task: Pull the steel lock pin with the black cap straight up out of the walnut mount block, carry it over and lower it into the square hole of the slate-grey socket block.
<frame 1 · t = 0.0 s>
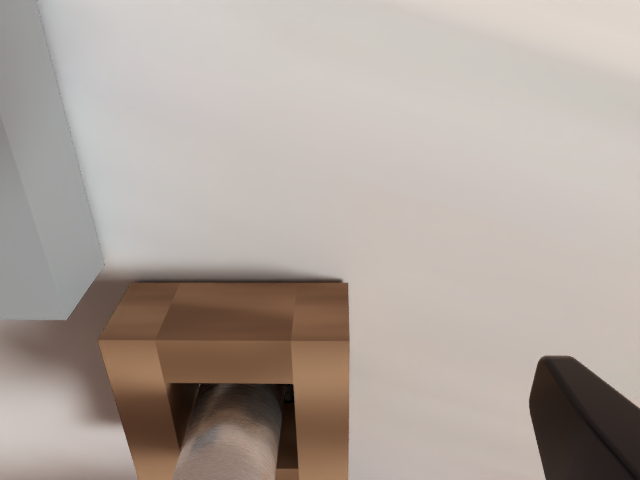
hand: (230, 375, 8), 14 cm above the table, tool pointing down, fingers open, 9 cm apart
lock pin: (229, 456, 23), in the pin mount
pin mount: (248, 364, 27), on the table
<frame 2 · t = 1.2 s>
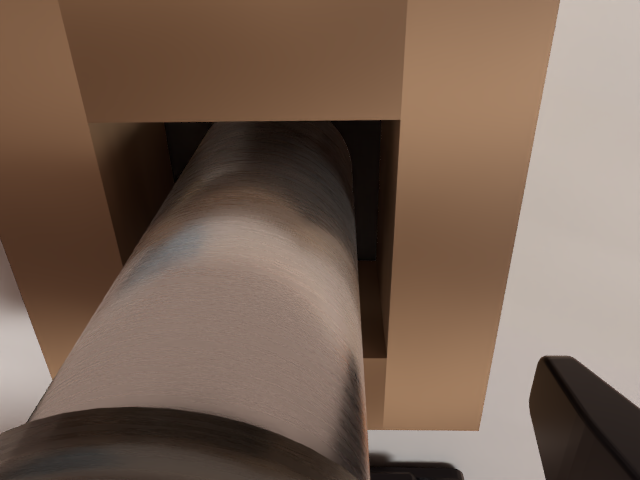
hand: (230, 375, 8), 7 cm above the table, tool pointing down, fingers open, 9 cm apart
lock pin: (244, 299, 9), in the pin mount
pin mount: (275, 173, 14), on the table
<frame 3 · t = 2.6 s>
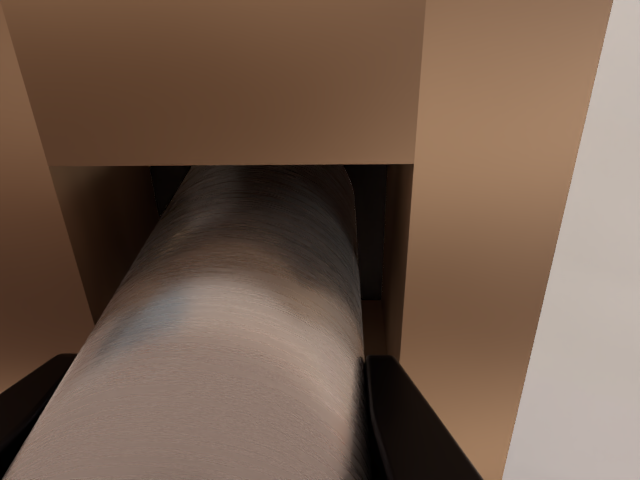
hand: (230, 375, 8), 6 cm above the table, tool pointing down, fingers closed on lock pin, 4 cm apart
lock pin: (229, 373, 8), in the pin mount, touching gripper
pin mount: (270, 207, 13), on the table
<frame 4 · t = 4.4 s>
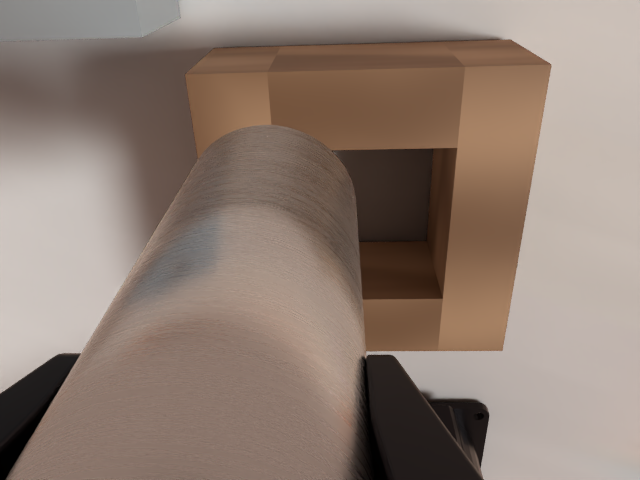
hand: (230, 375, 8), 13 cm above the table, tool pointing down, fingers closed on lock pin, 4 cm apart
lock pin: (231, 374, 8), point 13 cm above the table, touching gripper
pin mount: (360, 180, 21), on the table
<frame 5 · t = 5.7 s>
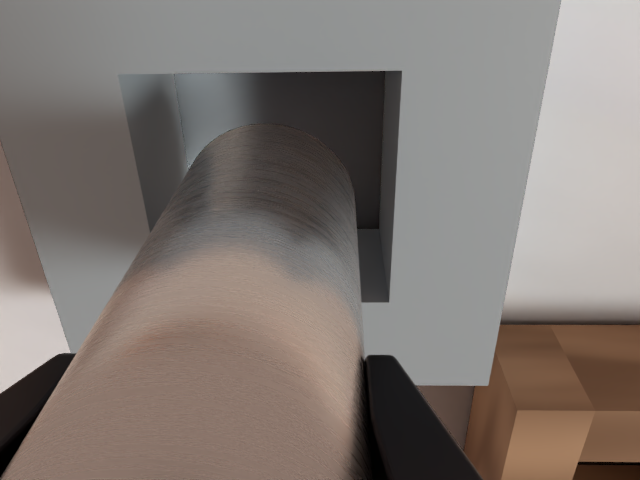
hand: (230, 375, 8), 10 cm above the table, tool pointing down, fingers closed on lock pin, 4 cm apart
socket block: (282, 142, 16), on the table
lock pin: (229, 374, 8), point 10 cm above the table, touching gripper
pin mount: (593, 421, 22), on the table
when the fingers open (6 cm above the table, at t = 6.7 s): lock pin drops 1 cm, resting in socket block.
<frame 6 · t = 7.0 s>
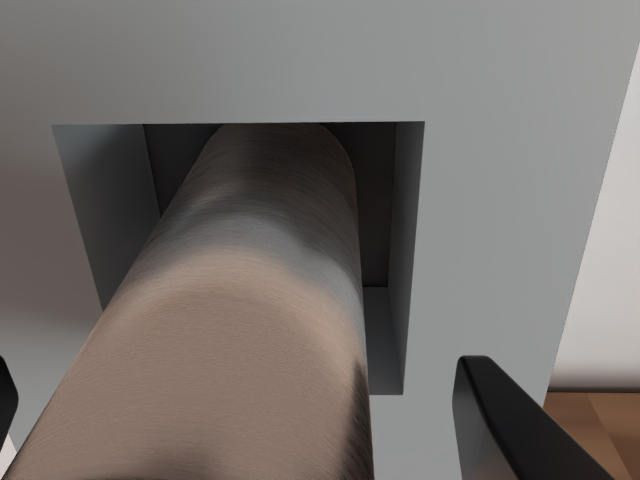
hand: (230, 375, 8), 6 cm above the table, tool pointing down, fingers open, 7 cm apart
socket block: (273, 188, 14), on the table
lock pin: (241, 328, 9), in the socket block
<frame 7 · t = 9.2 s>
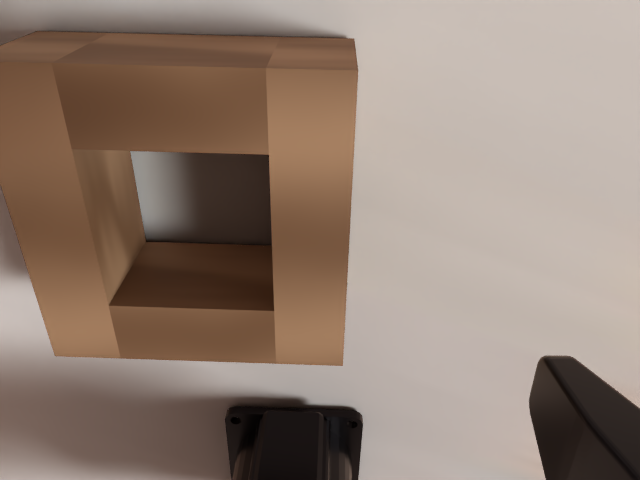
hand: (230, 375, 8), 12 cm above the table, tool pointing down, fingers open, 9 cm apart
pin mount: (209, 180, 20), on the table
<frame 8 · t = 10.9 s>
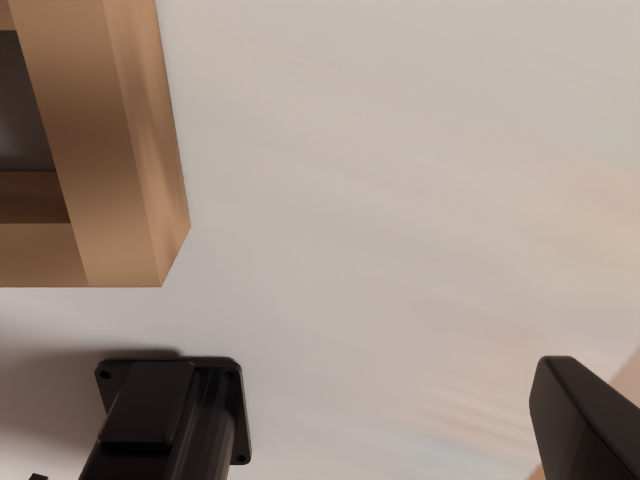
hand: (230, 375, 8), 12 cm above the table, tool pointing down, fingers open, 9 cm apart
pin mount: (23, 96, 18), on the table
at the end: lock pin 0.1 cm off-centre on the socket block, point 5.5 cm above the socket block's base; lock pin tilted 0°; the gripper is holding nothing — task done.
